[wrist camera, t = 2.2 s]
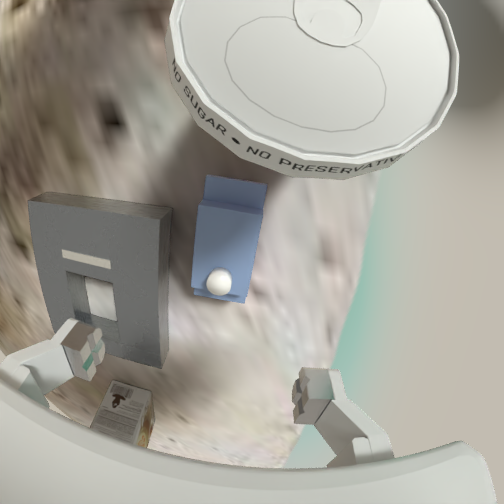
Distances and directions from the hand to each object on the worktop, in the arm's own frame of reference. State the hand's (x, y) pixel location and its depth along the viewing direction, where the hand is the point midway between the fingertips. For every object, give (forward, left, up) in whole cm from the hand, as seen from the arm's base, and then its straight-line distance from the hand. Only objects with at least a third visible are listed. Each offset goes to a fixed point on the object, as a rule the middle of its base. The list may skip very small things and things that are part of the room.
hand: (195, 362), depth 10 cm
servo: (0, 0, -14) cm, 14 cm away
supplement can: (-11, +2, -14) cm, 18 cm away
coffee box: (+29, -11, -14) cm, 34 cm away
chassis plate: (+7, -12, -14) cm, 19 cm away
